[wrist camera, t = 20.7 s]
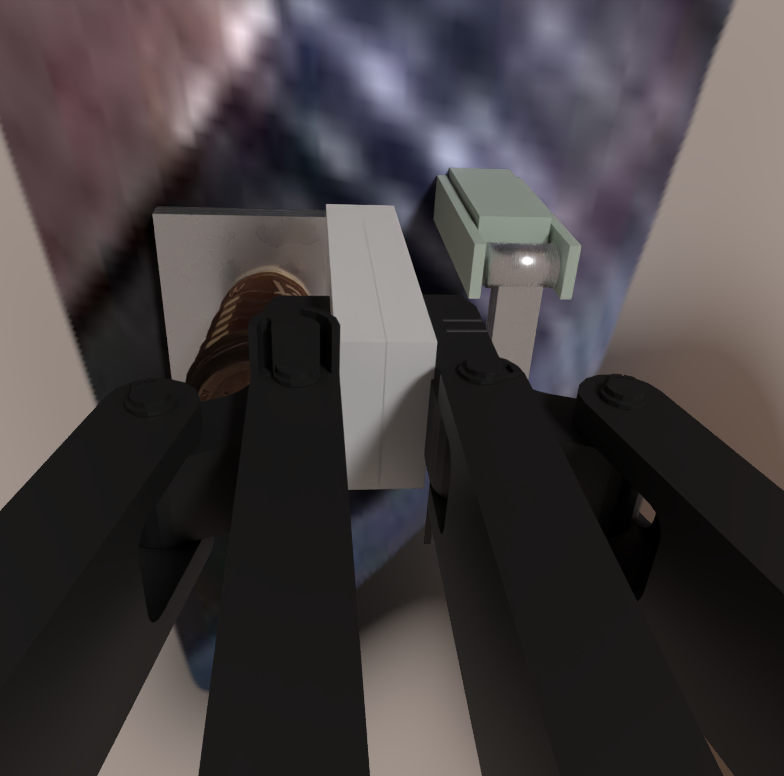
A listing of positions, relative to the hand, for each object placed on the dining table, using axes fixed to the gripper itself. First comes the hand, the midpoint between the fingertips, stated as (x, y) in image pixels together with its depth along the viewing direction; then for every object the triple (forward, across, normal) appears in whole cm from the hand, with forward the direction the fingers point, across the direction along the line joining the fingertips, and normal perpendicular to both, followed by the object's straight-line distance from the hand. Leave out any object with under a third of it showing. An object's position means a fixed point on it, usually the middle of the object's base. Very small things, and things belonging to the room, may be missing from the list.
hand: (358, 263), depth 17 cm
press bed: (+32, -4, -16) cm, 36 cm away
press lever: (+22, +10, -14) cm, 28 cm away
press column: (+32, +10, -8) cm, 35 cm away
